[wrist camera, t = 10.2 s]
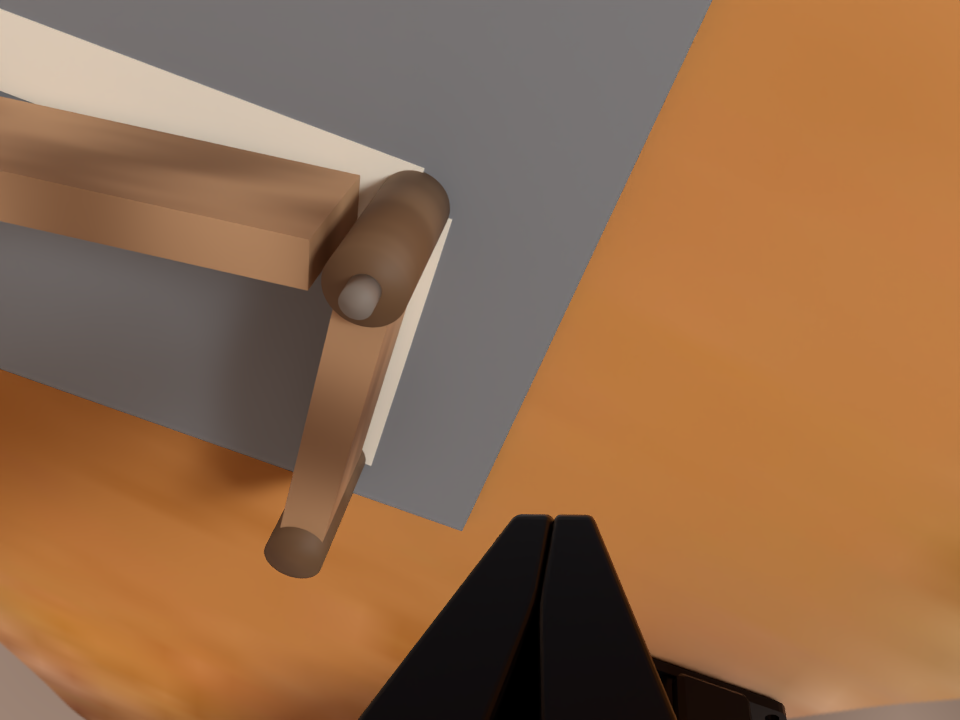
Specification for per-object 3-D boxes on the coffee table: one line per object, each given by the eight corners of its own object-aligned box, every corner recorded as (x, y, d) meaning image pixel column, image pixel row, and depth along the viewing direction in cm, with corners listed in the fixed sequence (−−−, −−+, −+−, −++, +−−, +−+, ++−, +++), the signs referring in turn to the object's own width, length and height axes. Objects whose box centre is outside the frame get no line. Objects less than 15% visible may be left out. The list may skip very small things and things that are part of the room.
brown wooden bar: (361, 167, 18) (302, 239, 15) (356, 228, 19) (300, 308, 15) (-73, 72, 18) (-221, 122, 15) (-55, 136, 19) (-191, 196, 16)
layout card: (464, 521, 25) (461, 532, 25) (-93, 326, 24) (-104, 333, 24) (942, -501, 11) (954, -514, 11) (-347, -1071, 10) (-383, -1103, 10)
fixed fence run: (366, 472, 24) (311, 604, 20) (314, 453, 24) (248, 582, 20) (461, 179, 18) (411, 282, 14) (391, 152, 18) (320, 249, 14)
